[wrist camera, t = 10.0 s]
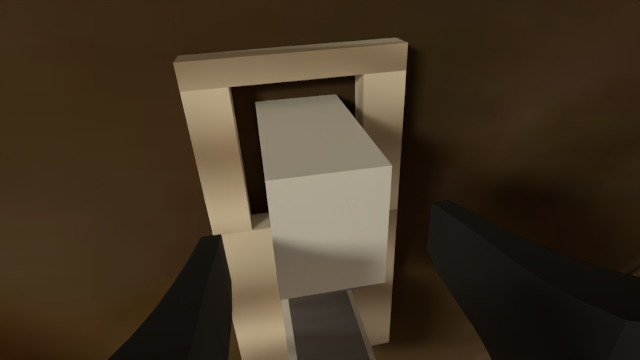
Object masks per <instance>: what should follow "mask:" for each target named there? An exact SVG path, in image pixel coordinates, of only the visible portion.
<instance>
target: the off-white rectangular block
mask: <svg viewBox="0 0 640 360" xmlns="http://www.w3.org/2000/svg"><path fill="white" fill-rule="evenodd" d="M255 105H256V113H257V121H258V129H259V137H260V145H261V153H262V161H263V169H264V177H265V185H266V193H267V201H268V209H269V217H270V225H271V233H272V241H273V249H274V257H275V265H276V273H277V281H278V289H279V297H280V300H285V299H290V300H293V299H299V298H305V297H311V296H317V295H323V294H329V293H335V292H341V291H347V290H353V289H358V288H364V287H370V285H374V284H380V283H385V272H386V256H387V240H388V224H389V208H390V192H391V176H392V165H391V163H390V162H389V161H388V160H387V158H386V157H385V156H384V154H383V153H382V152H381V151H380V149H379V148H378V147H377V146H376V144H375V143H374V142H373V141H372V139H371V138H370V137H369V135H368V134H367V133H366V132H365V130H364V129H363V128H362V127H361V125H360V124H359V123H358V122H357V120H356V119H355V118H354V116H353V115H352V114H351V113H350V111H349V110H348V109H347V108H346V106H345V105H344V104H343V103H342V101H341V100H340V99H339V97H338V96H337V95H336V94H335V95H324V96H314V97H303V98H292V99H281V100H270V101H259V102H255Z"/></svg>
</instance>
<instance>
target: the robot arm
mask: <svg viewBox="0 0 640 360" xmlns="http://www.w3.org/2000/svg"><path fill="white" fill-rule="evenodd" d="M426 249H427V251H428V254H429V256H430V258H431V260H432V262H433V264H434V266H435V268H436V270H437V272H438V274H439V276H440V277H441V279H442V280H443V282H444V283H445V285H446V286H447V288H448V289H449V291H450V292H451V294H452V295H453V297H454V298H455V300H456V301H457V303H458V304H459V306H460V307H461V309H462V310H463V312H464V313H465V315H466V316H467V318H468V319H469V321H470V322H471V324H472V325H473V327H474V328H475V330H476V332H477V333H478V335H479V336H480V338H481V340H482V342H483V344H484V346H485V347H486V349H487V351H488V353H489V355H490V357H491V359H492V360H640V277H636V276H632V275H628V274H624V273H620V272H617V271H613V270H609V269H606V268H603V267H599V266H596V265H593V264H590V263H586V262H583V261H580V260H577V259H574V258H571V257H569V256H566V255H563V254H561V253H558V252H555V251H553V250H550V249H548V248H545V247H543V246H540V245H538V244H536V243H533V242H531V241H529V240H527V239H525V238H522V237H520V236H518V235H516V234H514V233H512V232H510V231H508V230H506V229H504V228H502V227H500V226H498V225H496V224H494V223H492V222H490V221H488V220H486V219H484V218H482V217H480V216H478V215H477V214H475V213H473V212H471V211H469V210H467V209H465V208H463V207H461V206H459V205H457V204H455V203H453V202H451V201H448V200H447V201H440V202H434V203H432V205H431V213H430V222H429V231H428V240H427V248H426ZM231 321H232V281H231V277H230V272H229V267H228V263H227V258H226V254H225V249H224V244H223V240H222V235H221V234H218V235H212V236H205V237H201V239H200V240H199V241H198V243H197V245H196V247H195V249H194V250H193V252H192V254H191V256H190V257H189V259H188V261H187V262H186V264H185V266H184V267H183V269H182V270H181V272H180V273H179V275H178V277H177V278H176V280H175V281H174V283H173V284H172V286H171V287H170V289H169V290H168V291H167V293H166V294H165V295H164V297H163V298H162V299H161V301H160V302H159V304H158V305H157V306H156V308H155V309H154V310H153V311H152V313H151V314H150V315H149V316H148V317H147V319H146V320H145V321H144V322H143V323H142V325H141V326H140V327H139V328H138V329H137V330H136V331H135V333H134V334H133V335H132V336H131V337H130V338H129V339H128V340H127V341H126V342H125V343H124V344H123V345H122V346H121V347H120V348H119V349H118V350H117V351H116V352H115V353H114V354H113V355H112V356H111V357H110V358H109V359H108V360H228V355H229V344H230V333H231Z"/></svg>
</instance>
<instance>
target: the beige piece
mask: <svg viewBox="0 0 640 360" xmlns="http://www.w3.org/2000/svg"><path fill="white" fill-rule="evenodd" d="M407 50H408V43H407V42H405V41H403V40H400V39H398V38H385V39H373V40H361V41H348V42H336V43H324V44H312V45H300V46H288V47H276V48H264V49H251V50H239V51H227V52H215V53H203V54H191V55H179V56H178V57H177V58H176V59H175V61H174V62H173V64H174V68H175V73H176V77H177V81H178V86H179V90H180V94H181V99H182V103H183V107H184V112H185V116H186V120H187V124H188V129H189V133H190V137H191V142H192V146H193V150H194V155H195V159H196V163H197V168H198V172H199V176H200V181H201V185H202V189H203V194H204V198H205V202H206V206H207V211H208V215H209V219H210V224H211V228H212V232H213V235H218V234H221V235H222V240H223V244H224V249H225V254H226V258H227V263H228V267H229V272H230V277H231V281H232V319H233V323H234V327H235V332H236V336H237V340H238V345H239V349H240V353H241V358H242V360H376V359H375V356H374V353H373V350H372V347H371V346H373V345H378V344H383V343H388V342H389V332H390V316H391V301H392V285H393V269H394V254H395V238H396V223H397V207H398V191H399V176H400V160H401V144H402V129H403V113H404V97H405V82H406V66H407ZM351 75H355V119H356V120H357V122H358V123H359V124H360V125H361V127H362V128H363V129H364V130H365V132H366V133H367V134H368V135H369V137H370V138H371V139H372V141H373V142H374V143H375V144H376V146H377V147H378V148H379V149H380V151H381V152H382V153H383V154H384V156H385V157H386V158H387V160H388V161H389V162H390V163H391V165H392V176H391V192H390V208H389V224H388V240H387V256H386V272H385V283H380V284H374V285H370V287H364V288H358V289H353V290H347V291H341V292H335V293H329V294H323V295H317V296H311V297H305V298H299V299H293V300H290V299H285V300H280V297H279V289H278V281H277V273H276V265H275V257H274V249H273V241H272V233H271V225H270V217H269V212H267V213H260V214H253V215H251V209H250V203H249V197H248V191H247V185H246V179H245V173H244V166H243V160H242V154H241V148H240V142H239V136H238V130H237V124H236V118H235V112H234V106H233V99H232V93H231V87H236V86H246V85H257V84H267V83H278V82H288V81H299V80H309V79H320V78H330V77H341V76H351Z"/></svg>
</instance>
